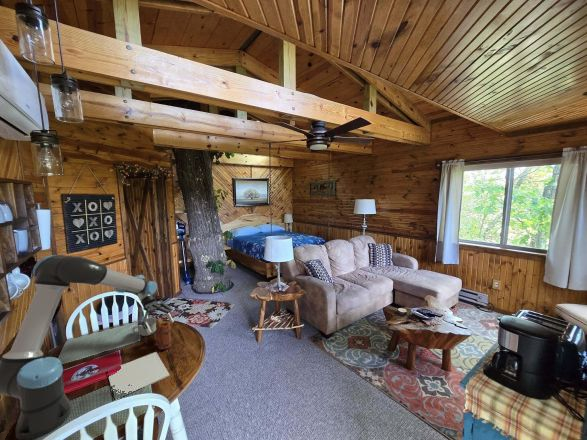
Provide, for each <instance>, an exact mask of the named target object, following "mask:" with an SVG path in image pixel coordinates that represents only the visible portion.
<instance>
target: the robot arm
mask: <svg viewBox="0 0 587 440" xmlns="http://www.w3.org/2000/svg"><path fill="white" fill-rule="evenodd" d="M32 274H33V275H34V276H33V277H34V279H35V280H34V282H33V285H34V286H35V288H36V289H35V292H34V295H32V300H31V301H30V304H29V306H28V309H27V311H26V313H25V316H24V318H23V320H22V322H21V325H20V328H19V330H18V332H17V334H16V337H15V340H14V341H13V343H12V346H11V349H10V350H9V351H8V352H6V353H5V354H3V355H2V356H1V358H0V395H2V396H8V397H11V398H15V399H19V403H20V404H19V405H20V415H19V417H18V420H17V423H16V427H15V438H16V439H18V440H33V439H37V438H39V437H42V436H45V435H46V434H49V433H51V432H52V431H53V430H55V429H57V428H58V427H60V426H61V425H62V424H63V423H64V422H65V421H66V420H67V419H68V418H69V417H70V415H71V413H72V409H73V407H72V404H71V401H70V400H69V398H68V397H67V395H66V394H65V386H64V375H63V374H64V373H63V370H64V368H63V365H62V364H63V363H62V361H61V359H59V358H57V357H53V356H46V357H43V356H44V352H43V351H42V350H41V348H42V346H43V343H44V340H45V339H46V335H47V333H48V331H49V328H50V327H51V326H50V325H51V323H52V321H53V317H54V315H55V313H56V310H57V307H58V305H59V303H60V300H61V297H62V295H63V292H64V291H65V290H67V289H69V288H70V286H71V284H85V285H92V286H97V285H102V286H107V287H110V288H111V287H112V288H114V290H115V292H116V293H121V294H124V293H127V294H128V293H130V294H136V295H137V297H138V299H139V301H140V304H141V305H142V306H140V307H139V308H138V310H137V312H138V319H137V326H138V325H142V326H143V328H144V329H146V330H147V332H148V334H150V333H151V332H152V331H151V329H150V327H149V325H148V323H147V322H146V323H145V321H146V319H147V318H148V317H149V314H150V313H152V312H155V311H159V312H162V313H164V314H166V317H167V319H168V322H170V325H172V324H173V323H174V322H175V321H174V319H173V313H172V311H173V308H172V307H171V306H170V305H168V304H167V303H165V302H164V301H163V299H160V300H159V301H157V299H156V297H155V295H154V294H155V293H156V291H157V289H158V284H157V282H155V281H152V280H147V279H146V277H145V276H144V275H143V274H138V275H134V276H133V275H129V274H126V273H123V272H121V271H118V270H117V271H116V270H113V269H110V268H108V267H107V266H106V265H105V264H103V263H99V262H96V261H95V260H91V259H88V258H87V257H84V256H83V257H82V256H76V255H75V256H72V255H64V254H53V255H51V254H50V255H47V256H44V257H43V258H41V259H39V260H38V261H37V262H36V263H35V265H33V269H32ZM144 311H145V313H144V317H143V312H144ZM142 320H143V321H142Z"/></svg>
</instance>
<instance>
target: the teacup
mask: <svg viewBox="0 0 587 440" xmlns="http://www.w3.org/2000/svg"><path fill="white" fill-rule="evenodd" d="M157 319H158V318H156V317H147V319H146V321H145V323H146V322H147V323H148V325H149V327H150V329H151V331H152V332H151V333H150V334H148V332H147V330H146V329H144V328H143V326H142V325H138V324H137V325H135V326H133V327H132V330H131V331H132V333H133V334H137V335H140V336H143V337H148V336H150V335H151V336H152V335H153V334H154V333H155V332H156V320H157ZM142 321H143V319H142ZM135 329H137V331H135Z"/></svg>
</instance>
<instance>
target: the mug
mask: <svg viewBox="0 0 587 440" xmlns="http://www.w3.org/2000/svg"><path fill="white" fill-rule="evenodd" d="M156 319H157V320H156V331H155V332H156V334H157V337H158V338H157V340H156V341H155V344H156V346H157V347H158V349H159V350H166V349H168V348H170V347H171V345H172V343H173V342H174V340H173V337H172V336H171V332H172V330H173V328H172V326H171V323H170V321H163V319H162V318H161V317H159V318H156Z"/></svg>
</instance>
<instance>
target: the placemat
mask: <svg viewBox="0 0 587 440" xmlns="http://www.w3.org/2000/svg"><path fill="white" fill-rule="evenodd" d="M120 366H121V369H120V370H119V371H117V373H115V374H113V375H111V376H109V377H108V380H109V384H110V387H111V386H113V385H115V387H113V389H116V390H118V389H119V390H118V391H119V392H120V390H121V393H122V391H125V392H124V393H127V394H128V392H129V391H132V392H133V391H136V390H138V389H140V388H142V389H144V388H143V387H145V388H146V386H147V387H148V385H149V386H151V385H153V384H155V383H157V382H159V381H162V380H163V379H166V378H168V377H170V376H171V375H170V373H169V371H168V369H167V368H166V366H165V364H164V363H163V361H162V359H161V358H160V356H159V354H158V352H157V351H155V352H151V353H149V354H146V355H144V356H141V357H139V358H137V359H134V360H132V361H129V362H126V363H123V364H120ZM129 384H130V386H128V385H129ZM131 385H132V386H131ZM140 390H141V389H140ZM113 391H114V390H113ZM118 391H117V392H116V393H118ZM138 391H139V390H138ZM136 392H137V391H136ZM130 393H131V392H130ZM118 394H120V393H118ZM123 398H124V397H122V398H121V399H123ZM118 399H119V400H121V399H120V398H118ZM116 400H117V399H116ZM113 401H114V402H116V401H115V400H114V399H113ZM117 401H118V400H117Z"/></svg>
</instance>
